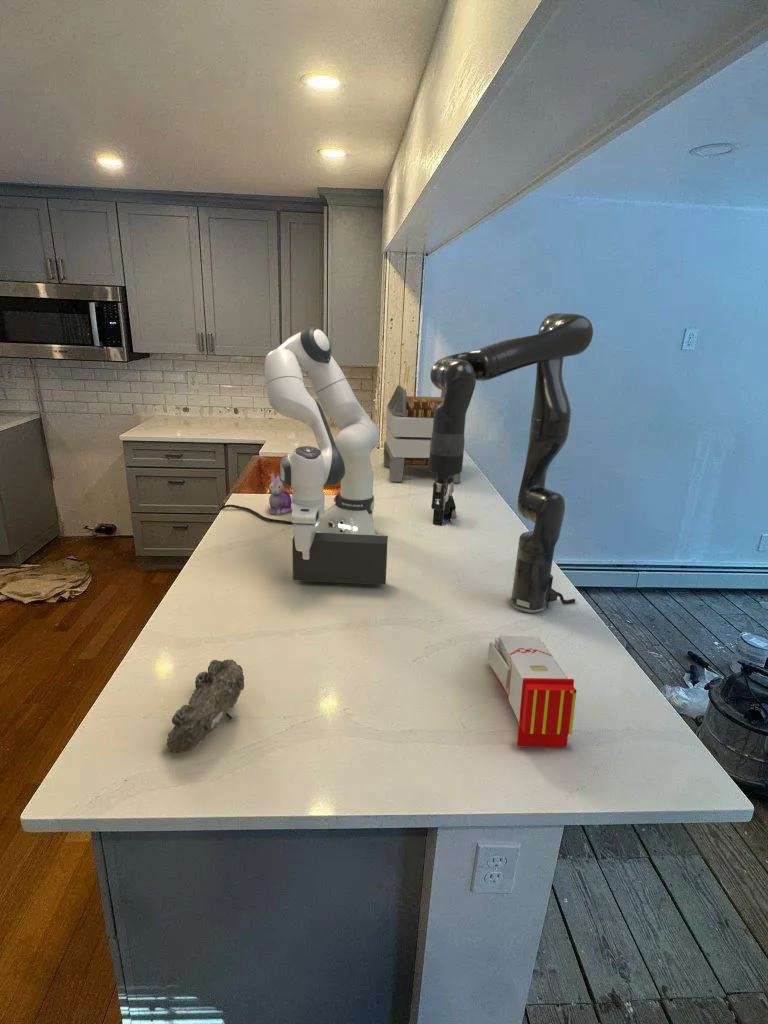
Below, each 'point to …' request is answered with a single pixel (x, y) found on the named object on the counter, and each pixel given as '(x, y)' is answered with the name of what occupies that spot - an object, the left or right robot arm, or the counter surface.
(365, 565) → the box
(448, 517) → the figurine character
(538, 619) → the counter surface
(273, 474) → the figurine
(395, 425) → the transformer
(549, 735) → the toy
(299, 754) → the counter surface
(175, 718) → the fossil
